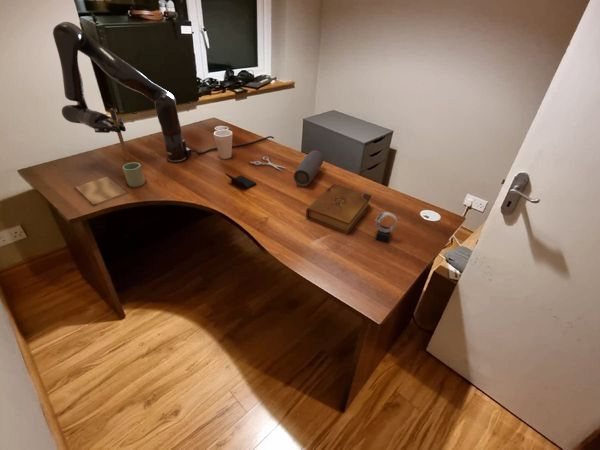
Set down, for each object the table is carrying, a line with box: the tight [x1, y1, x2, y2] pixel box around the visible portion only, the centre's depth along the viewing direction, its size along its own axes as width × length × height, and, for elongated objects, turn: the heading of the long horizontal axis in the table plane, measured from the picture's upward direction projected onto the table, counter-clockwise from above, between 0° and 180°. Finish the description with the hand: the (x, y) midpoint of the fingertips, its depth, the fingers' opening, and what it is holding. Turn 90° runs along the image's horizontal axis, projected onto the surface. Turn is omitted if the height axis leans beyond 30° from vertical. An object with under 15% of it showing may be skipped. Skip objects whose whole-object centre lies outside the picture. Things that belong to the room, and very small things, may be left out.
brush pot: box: [122, 161, 146, 188], centre depth 150 cm, size 7×8×9 cm
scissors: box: [249, 156, 286, 172], centre depth 171 cm, size 11×1×20 cm
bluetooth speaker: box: [293, 149, 325, 187], centre depth 159 cm, size 23×9×10 cm, turn 161°
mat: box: [75, 176, 127, 206], centre depth 147 cm, size 14×20×1 cm
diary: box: [305, 183, 372, 235], centre depth 137 cm, size 23×19×6 cm
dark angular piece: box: [225, 173, 257, 190], centre depth 154 cm, size 12×7×10 cm
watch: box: [374, 211, 398, 243], centre depth 123 cm, size 6×8×11 cm
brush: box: [109, 107, 130, 161], centre depth 138 cm, size 2×2×22 cm
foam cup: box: [213, 129, 234, 160], centre depth 174 cm, size 10×9×13 cm
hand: (122, 129), depth 135 cm, fingers closed on brush, 1 cm apart
